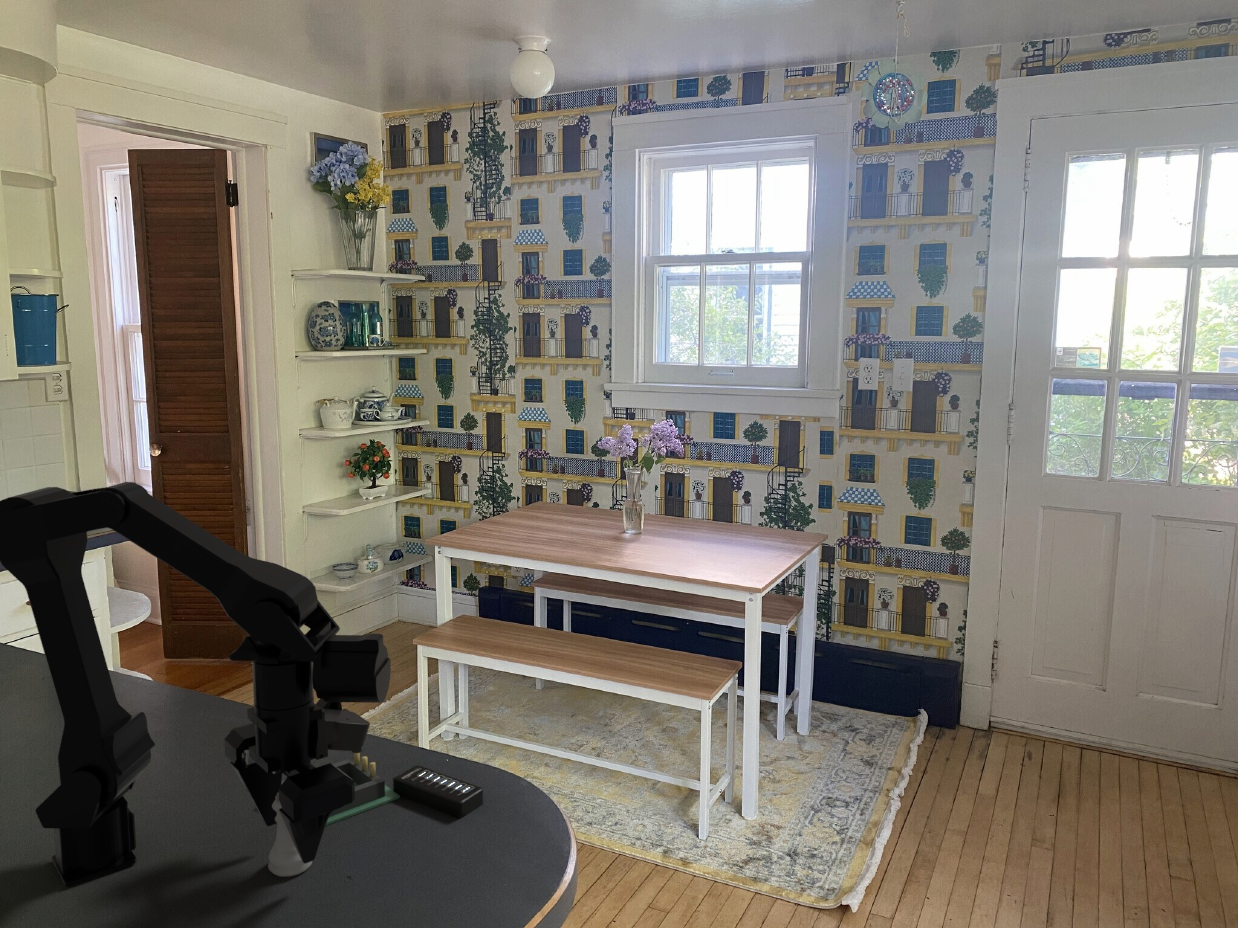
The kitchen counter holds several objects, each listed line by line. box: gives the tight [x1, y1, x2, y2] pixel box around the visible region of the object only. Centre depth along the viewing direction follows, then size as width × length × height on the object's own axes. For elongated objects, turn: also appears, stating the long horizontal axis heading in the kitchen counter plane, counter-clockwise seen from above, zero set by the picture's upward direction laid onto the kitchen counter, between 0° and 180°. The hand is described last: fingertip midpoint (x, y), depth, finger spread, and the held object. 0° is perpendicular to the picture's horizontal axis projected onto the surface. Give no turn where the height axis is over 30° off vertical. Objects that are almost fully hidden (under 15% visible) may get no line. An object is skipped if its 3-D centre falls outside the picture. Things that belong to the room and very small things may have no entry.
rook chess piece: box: [267, 792, 313, 878], centre depth 94 cm, size 4×4×8 cm
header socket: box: [281, 753, 401, 827], centre depth 107 cm, size 13×10×4 cm
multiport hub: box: [392, 764, 484, 820], centre depth 109 cm, size 4×11×2 cm, turn 58°
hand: (289, 842), depth 94 cm, fingers open, 9 cm apart
